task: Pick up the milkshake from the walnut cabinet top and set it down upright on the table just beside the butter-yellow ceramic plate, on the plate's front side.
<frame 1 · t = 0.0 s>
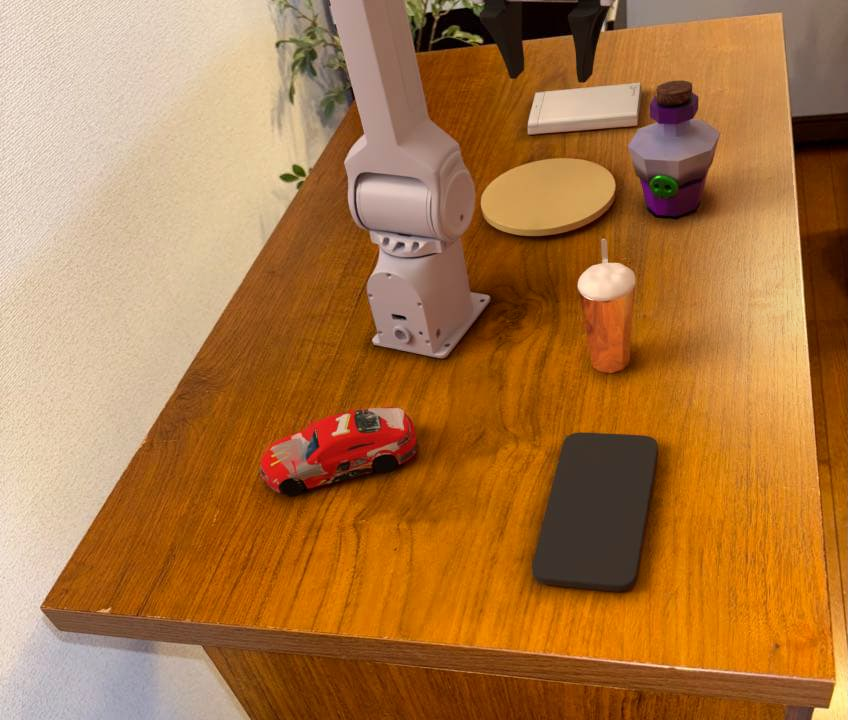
hand: (550, 76, 100), 10 cm above the table, tool pointing down, fingers open, 7 cm apart
potion bottle: (673, 206, 99), on the table
hard drive: (585, 116, 115), on the table
milkshake: (610, 360, 85), on the table
phone: (597, 512, 73), on the table
plate: (548, 204, 103), on the table
race car: (342, 464, 82), on the table
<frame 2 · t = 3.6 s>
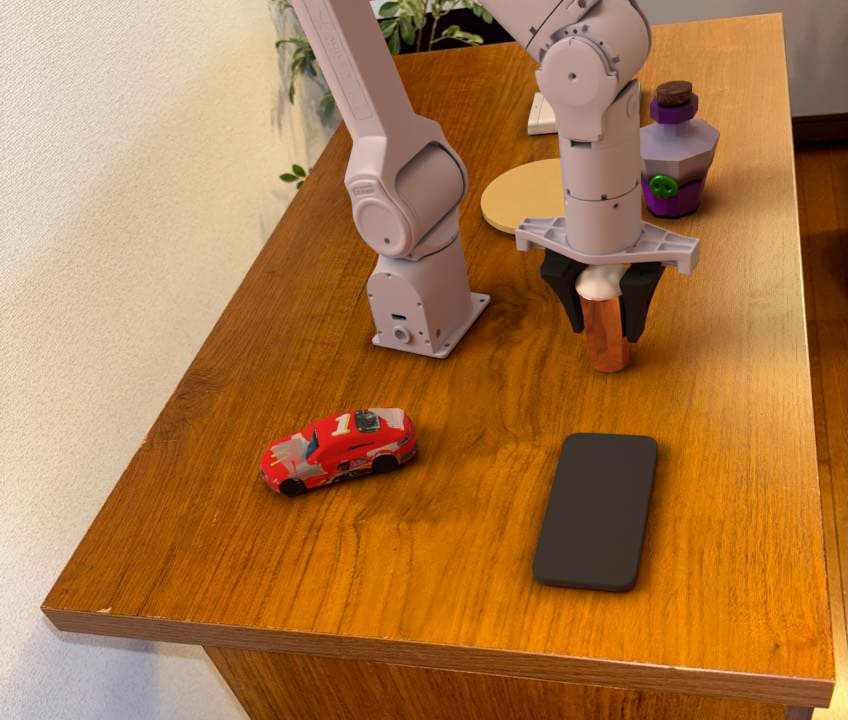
hand: (609, 331, 82), 3 cm above the table, tool pointing down, fingers closed on milkshake, 4 cm apart
milkshake: (610, 360, 85), on the table, touching gripper
everything else where it was.
when the fingers open (3 cm above the table, at t = 8.1 s): milkshake stays where it is, on the table.
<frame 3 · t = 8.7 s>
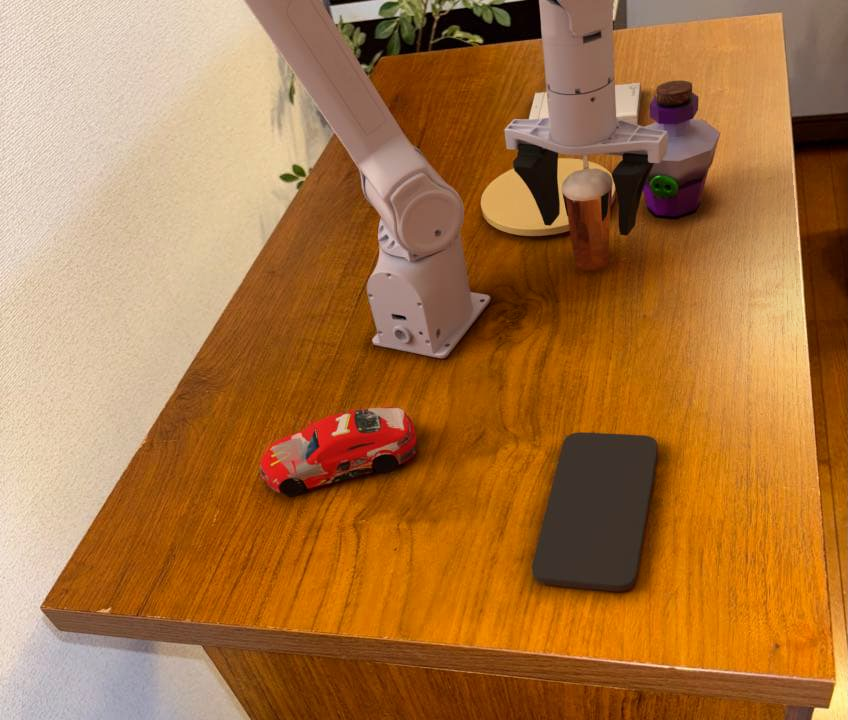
hand: (589, 224, 92), 4 cm above the table, tool pointing down, fingers open, 7 cm apart
milkshake: (591, 261, 95), on the table
everything else where it was.
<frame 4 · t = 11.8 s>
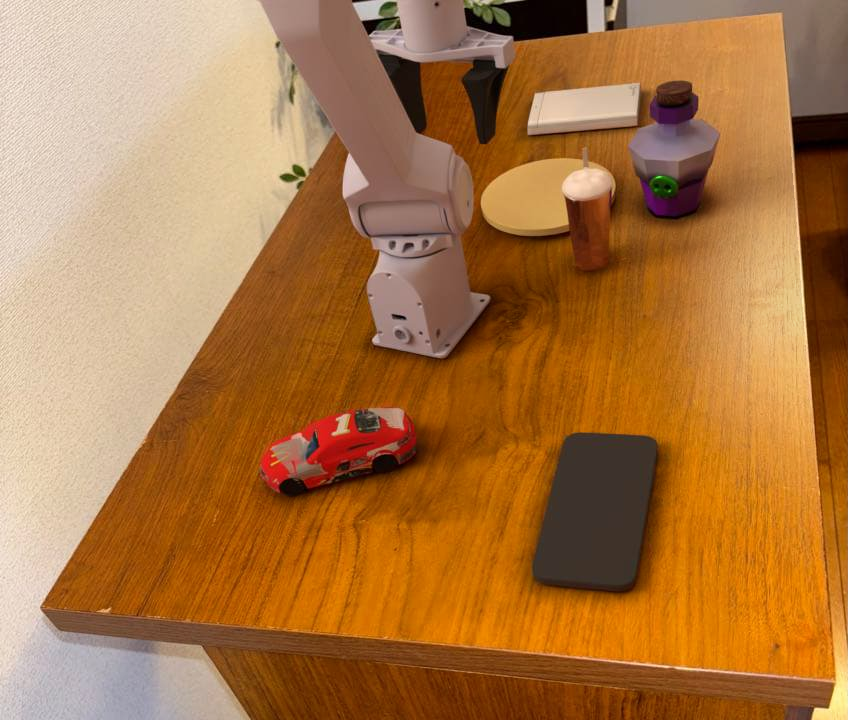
hand: (452, 135, 95), 10 cm above the table, tool pointing down, fingers open, 7 cm apart
nothing on the table moved.
at the end: milkshake 12.0 cm from the plate (horizontally); milkshake touching table; milkshake tilted 0° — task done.
